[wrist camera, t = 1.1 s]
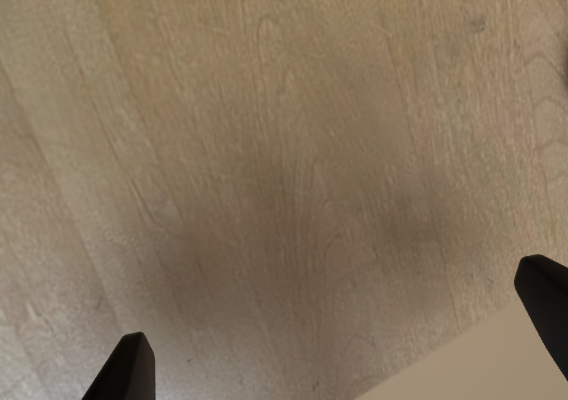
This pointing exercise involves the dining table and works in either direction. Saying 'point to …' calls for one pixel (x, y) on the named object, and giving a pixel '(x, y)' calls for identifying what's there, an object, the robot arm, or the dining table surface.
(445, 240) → the dining table surface
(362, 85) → the dining table surface
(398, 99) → the dining table surface
